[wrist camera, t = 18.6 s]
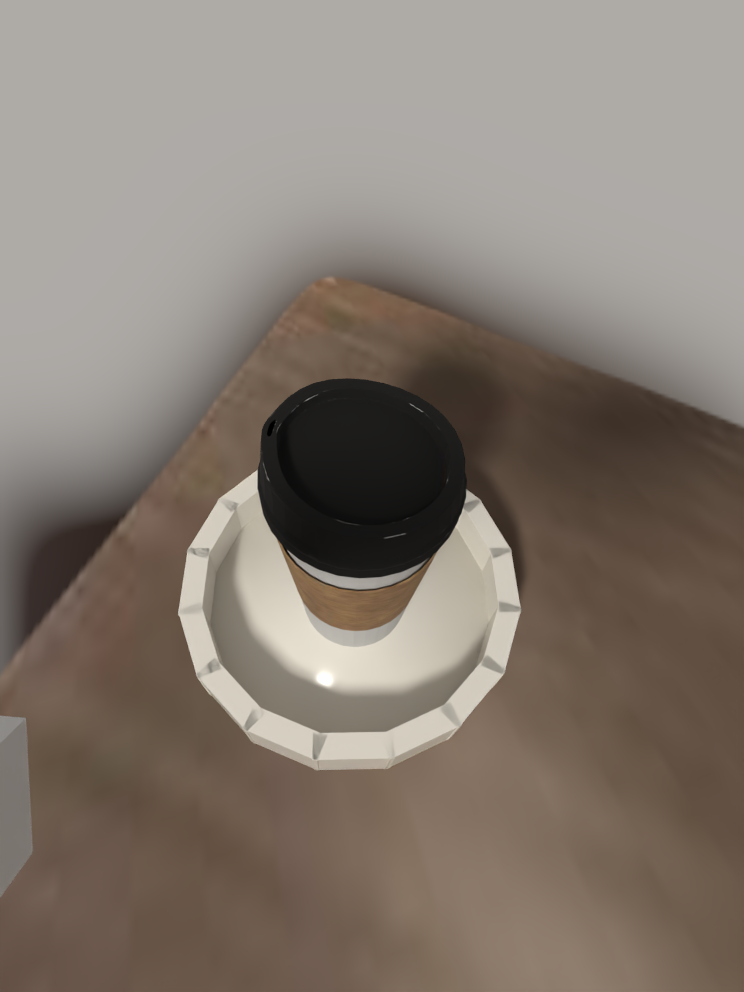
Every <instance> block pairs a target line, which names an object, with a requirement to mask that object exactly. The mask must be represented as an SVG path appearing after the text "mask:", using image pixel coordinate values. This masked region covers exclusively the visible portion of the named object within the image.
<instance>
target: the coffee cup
mask: <svg viewBox="0 0 744 992" xmlns="http://www.w3.org/2000/svg"><path fill="white" fill-rule="evenodd" d="M466 482H467V479H466V475H465V457H464V453H463V448H462V444H461V442H460V440H459V438H458V436H457V433H456V431H455V429H454V428H453V427H452V426H451V424H450V423H449V422H448V420H447V419H446V418H445V417H444V416H443V415H442V414H441V413H440V412H439V411H438V410H437V409H435V408H434V407H433V406H432V405H431V404H429V403H427V402H426V401H424V400H423V399H421V398H419V397H418V396H416V395H414V394H411V393H409V392H407V391H405V390H403V389H400V388H397V387H394V386H391V385H388V384H384V383H380V382H375V381H369V380H362V379H331V380H326V381H321V382H317V383H313V384H311V385H309V386H306V387H304V388H302V389H300V390H298V391H297V392H295V393H294V394H292V395H291V396H290V397H288V398H287V399H286V400H285V401H284V402H283V403H282V404H281V405H280V406H279V407H278V408H277V409H276V410H275V411H274V412H273V413H272V415H271V416H270V417H269V418H268V419H267V421H266V422H265V424H264V426H263V429H262V435H261V457H260V463H259V467H258V478H257V488H258V493H259V497H260V502H261V507H262V511H263V515H264V518H265V520H266V522H267V524H268V526H269V528H270V530H271V532H272V533H273V534H274V536H275V537H276V538H277V541H278V543H279V546H280V548H281V551H282V553H283V556H284V558H285V561H286V563H287V566H288V568H289V571H290V573H291V575H292V578H293V580H294V583H295V585H296V588H297V590H298V593H299V595H300V597H301V599H302V602H303V605H304V608H305V611H306V614H307V616H308V618H309V620H310V622H311V624H312V625H313V626H314V628H315V629H316V630H317V631H318V632H319V633H320V634H321V635H322V636H323V637H324V638H326V639H328V640H330V641H331V642H333V643H336V644H339V645H342V646H349V647H361V646H366V645H370V644H374V643H376V642H378V641H380V640H382V639H383V638H385V637H386V636H387V635H388V634H390V633H391V632H392V630H393V629H394V628H395V627H396V626H397V624H398V622H399V621H400V619H401V617H402V615H403V613H404V611H405V609H406V607H407V605H408V603H409V602H410V600H411V598H412V596H413V595H414V593H415V591H416V589H417V587H418V586H419V584H420V582H421V580H422V578H423V577H424V575H425V573H426V571H427V570H428V568H429V566H430V564H431V562H432V561H433V559H434V557H435V555H436V553H437V552H438V550H439V549H440V548H441V546H442V545H443V544H444V543H445V542H446V541H447V540H448V538H449V537H450V535H451V534H452V532H453V530H454V528H455V526H456V525H457V523H458V520H459V517H460V515H461V513H462V510H463V506H464V503H465V499H466Z"/></svg>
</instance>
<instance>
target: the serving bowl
mask: <svg viewBox="0 0 744 992" xmlns="http://www.w3.org/2000/svg"><path fill="white" fill-rule="evenodd" d="M257 478H258V470H257V471H255V472H254V473H253V474H251V475H250V476H249V477H248V478H246V479H245V480H244V481H242V482H241V483H240V484H238V485H237V486H236V487H234V488H233V489H232V490H230V491H229V492H228V493H226V494H225V495H224V496H222V497H220V499H219V500H218V502H217V504H216V505H215V507H214V509H213V510H212V512H211V513H210V515H209V517H208V518H207V520H206V521H205V523H204V525H203V526H202V528H201V530H200V531H199V533H198V534H197V536H196V538H195V539H194V541H193V542H192V544H191V546H190V547H189V548H188V551H187V559H186V566H185V572H184V579H183V585H182V592H181V599H180V605H179V610H178V615H179V616H180V619H181V622H182V626H183V629H184V633H185V636H186V640H187V643H188V647H189V650H190V653H191V657H192V660H193V664H194V667H195V671H196V676H197V677H198V679H199V681H200V682H201V683H202V685H203V686H204V687H205V689H206V690H207V691H208V693H209V694H210V695H212V696H213V697H214V699H215V700H216V701H217V702H218V703H219V704H220V705H221V706H222V708H223V709H224V710H225V711H226V712H227V713H228V714H229V715H230V717H231V718H232V719H233V720H234V721H235V722H236V723H237V724H238V726H239V727H240V728H241V729H242V730H243V731H244V732H245V733H246V735H247V736H248V737H249V739H250V740H251V742H253V743H254V744H258V745H260V746H263V747H265V748H267V749H270V750H272V751H274V752H276V753H279V754H281V755H283V756H286V757H288V758H290V759H293V760H295V761H297V762H300V763H302V764H304V765H306V766H309V767H311V768H313V769H315V770H318V771H319V770H343V769H389V768H390V767H391V766H393V765H395V764H397V763H400V762H402V761H404V760H406V759H408V758H410V757H412V756H414V755H416V754H418V753H420V752H422V751H424V750H427V749H429V748H431V747H433V746H435V745H437V744H439V743H441V742H443V741H445V740H448V739H449V738H451V737H452V736H453V734H454V733H455V732H456V731H457V730H458V729H459V728H460V727H461V725H462V723H463V722H464V720H465V719H466V718H467V717H468V716H469V714H470V713H471V712H472V711H473V710H474V708H475V707H476V706H477V705H478V703H479V702H480V701H481V700H482V699H483V697H484V696H485V695H486V694H487V693H488V691H490V690H491V689H492V687H493V686H494V685H495V684H496V683H497V682H498V681H499V679H500V678H501V677H502V676H503V675H504V672H505V671H506V670H505V668H506V664H507V660H508V656H509V653H510V649H511V645H512V641H513V637H514V634H515V630H516V626H517V622H518V618H519V615H520V613H521V608H520V602H519V596H518V590H517V584H516V578H515V572H514V565H513V559H512V553H511V552H512V551H511V548H510V547H509V546H508V544H507V543H506V541H505V539H504V538H503V536H502V534H501V533H500V531H499V530H498V528H497V526H496V525H495V523H494V522H493V520H492V518H491V517H490V515H489V513H488V512H487V510H486V509H485V507H484V505H483V504H482V502H481V500H480V499H479V498H477V497H476V496H475V495H473V494H472V493H471V492H469V491H468V490H467V489H466V499H465V503H464V506H463V510H462V513H461V515H460V517H459V520H458V523H457V525H456V526H455V528H454V530H453V532H452V534H451V535H450V537H449V538H448V540H447V541H446V542H445V543H444V544H443V545H442V546H441V548H440V549H439V550H438V552H437V553H436V555H435V557H434V559H433V561H432V562H431V564H430V566H429V568H428V570H427V571H426V573H425V575H424V577H423V578H422V580H421V582H420V584H419V586H418V587H417V589H416V591H415V593H414V595H413V596H412V598H411V600H410V602H409V603H408V605H407V607H406V609H405V611H404V613H403V615H402V617H401V619H400V621H399V622H398V624H397V626H396V627H395V628H394V629H393V630H392V632H391V633H390V634H388V635H387V636H386V637H385V638H383V639H382V640H380V641H378V642H376V643H374V644H370V645H366V646H361V647H349V646H342V645H339V644H336V643H333V642H331V641H330V640H328V639H326V638H324V637H323V636H322V635H321V634H320V633H319V632H318V631H317V630H316V629H315V628H314V626H313V625H312V624H311V622H310V620H309V618H308V616H307V614H306V611H305V608H304V605H303V602H302V599H301V597H300V595H299V593H298V590H297V588H296V585H295V583H294V580H293V578H292V575H291V573H290V571H289V568H288V566H287V563H286V561H285V558H284V556H283V553H282V551H281V548H280V546H279V543H278V541H277V538H276V537H275V536H274V534H273V533H272V532H271V530H270V528H269V526H268V524H267V522H266V520H265V518H264V515H263V511H262V507H261V502H260V497H259V493H258V488H257Z"/></svg>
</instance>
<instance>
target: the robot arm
mask: <svg viewBox="0 0 744 992" xmlns="http://www.w3.org/2000/svg"><path fill="white" fill-rule="evenodd" d="M32 853H33V848H32V828H31V809H30V789H29V770H28V750H27V730H26V718H20V717H8V716H0V897H1V896H2V894H3V893H4V892H5V890H6V889H7V888H8V886H9V885H10V883H11V882H12V881H13V879H14V878H15V876H16V875H17V874H18V872H19V871H20V869H21V868H22V867H23V865H24V864H25V863H26V861H27V860H28V858H29V857H30V856H31V854H32Z"/></svg>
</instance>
